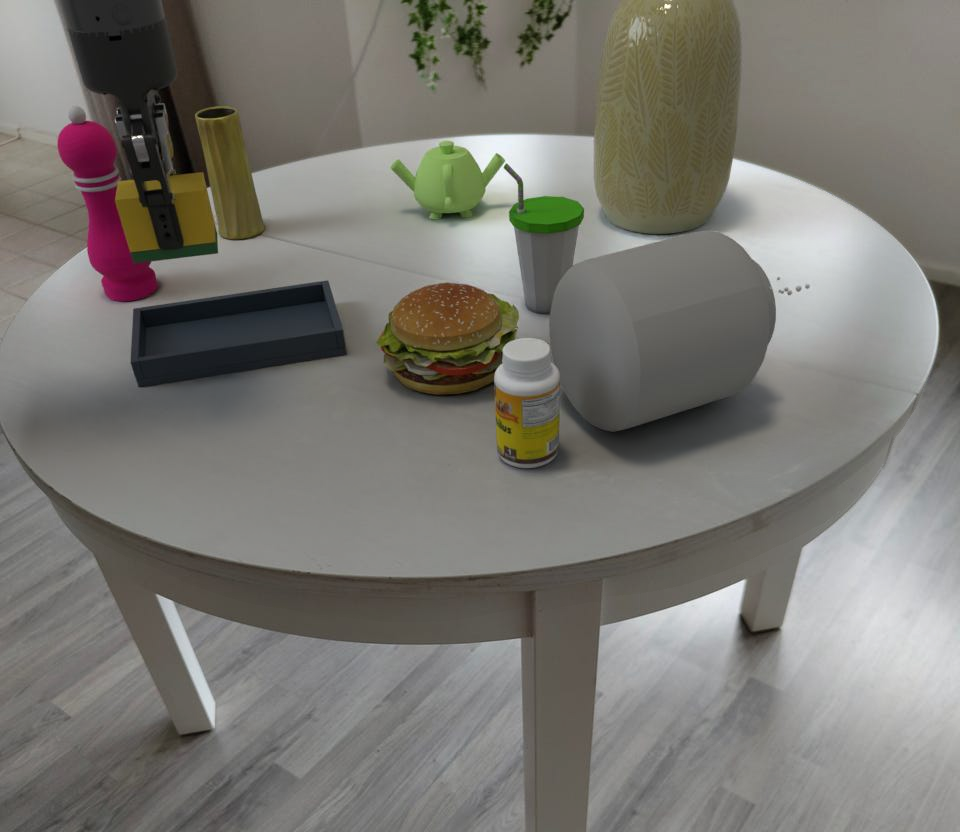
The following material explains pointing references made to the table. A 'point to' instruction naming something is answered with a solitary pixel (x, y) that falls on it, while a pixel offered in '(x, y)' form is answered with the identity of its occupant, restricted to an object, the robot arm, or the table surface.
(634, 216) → the vase
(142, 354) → the tray
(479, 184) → the teapot
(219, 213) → the vase
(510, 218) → the cup
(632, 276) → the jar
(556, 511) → the table surface
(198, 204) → the sponge
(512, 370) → the supplement bottle
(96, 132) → the pepper mill
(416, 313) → the food
